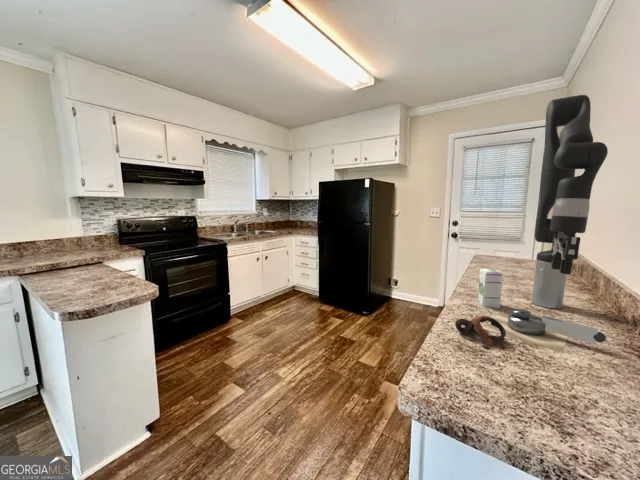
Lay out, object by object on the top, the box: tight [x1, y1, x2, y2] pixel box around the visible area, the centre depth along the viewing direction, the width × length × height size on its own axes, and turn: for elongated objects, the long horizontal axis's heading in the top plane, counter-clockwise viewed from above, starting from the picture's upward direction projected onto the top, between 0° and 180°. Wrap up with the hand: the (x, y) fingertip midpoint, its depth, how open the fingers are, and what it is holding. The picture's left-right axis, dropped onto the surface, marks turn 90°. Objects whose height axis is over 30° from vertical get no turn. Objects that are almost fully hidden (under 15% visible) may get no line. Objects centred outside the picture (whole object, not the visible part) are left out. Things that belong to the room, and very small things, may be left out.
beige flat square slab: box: [482, 312, 569, 353], centre depth 80 cm, size 18×18×2 cm
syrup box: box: [477, 268, 504, 309], centre depth 100 cm, size 6×6×14 cm
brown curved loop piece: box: [454, 315, 506, 351], centre depth 75 cm, size 12×10×8 cm
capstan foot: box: [508, 308, 607, 345], centre depth 76 cm, size 21×9×5 cm, turn 43°
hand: (560, 271), depth 79 cm, fingers open, 8 cm apart
